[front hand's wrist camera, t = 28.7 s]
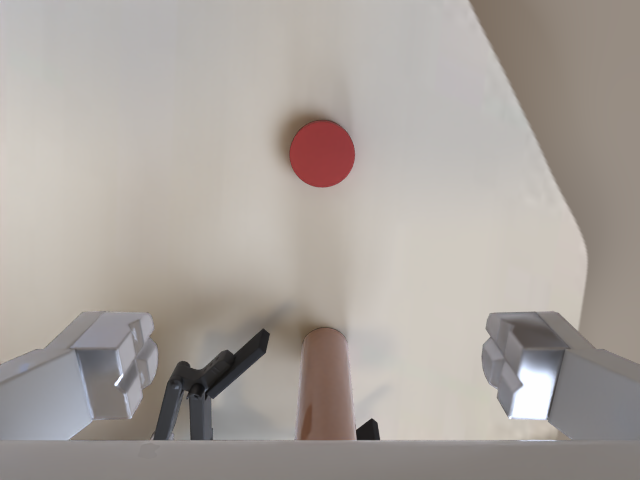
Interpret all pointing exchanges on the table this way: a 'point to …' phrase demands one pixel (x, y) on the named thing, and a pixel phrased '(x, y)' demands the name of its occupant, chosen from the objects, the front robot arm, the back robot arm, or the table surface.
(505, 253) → the table surface
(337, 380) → the jar
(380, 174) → the table surface
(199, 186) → the table surface
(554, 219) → the table surface
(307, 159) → the lid
